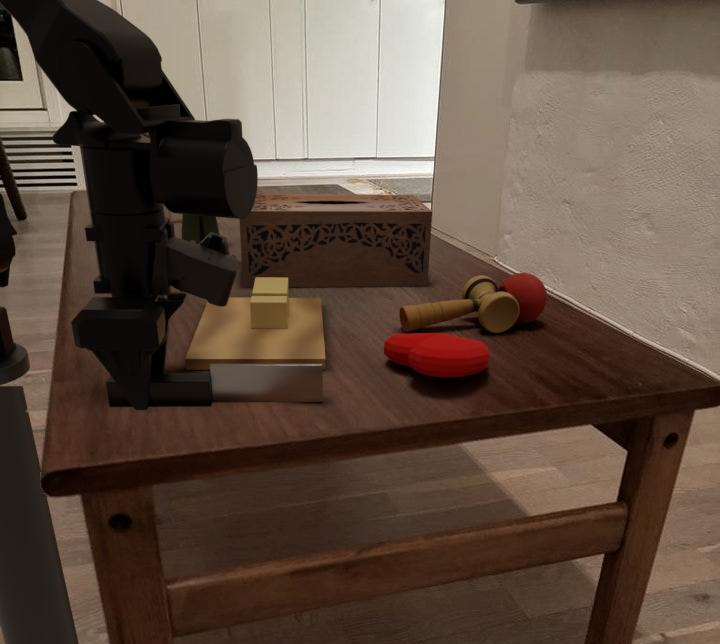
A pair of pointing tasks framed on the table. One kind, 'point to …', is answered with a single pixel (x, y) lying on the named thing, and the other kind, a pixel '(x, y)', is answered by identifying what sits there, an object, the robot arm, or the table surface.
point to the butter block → (271, 287)
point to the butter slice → (269, 312)
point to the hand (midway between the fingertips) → (150, 391)
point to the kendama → (484, 304)
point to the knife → (230, 385)
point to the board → (257, 336)
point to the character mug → (198, 227)
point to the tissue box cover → (337, 240)
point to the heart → (438, 354)
